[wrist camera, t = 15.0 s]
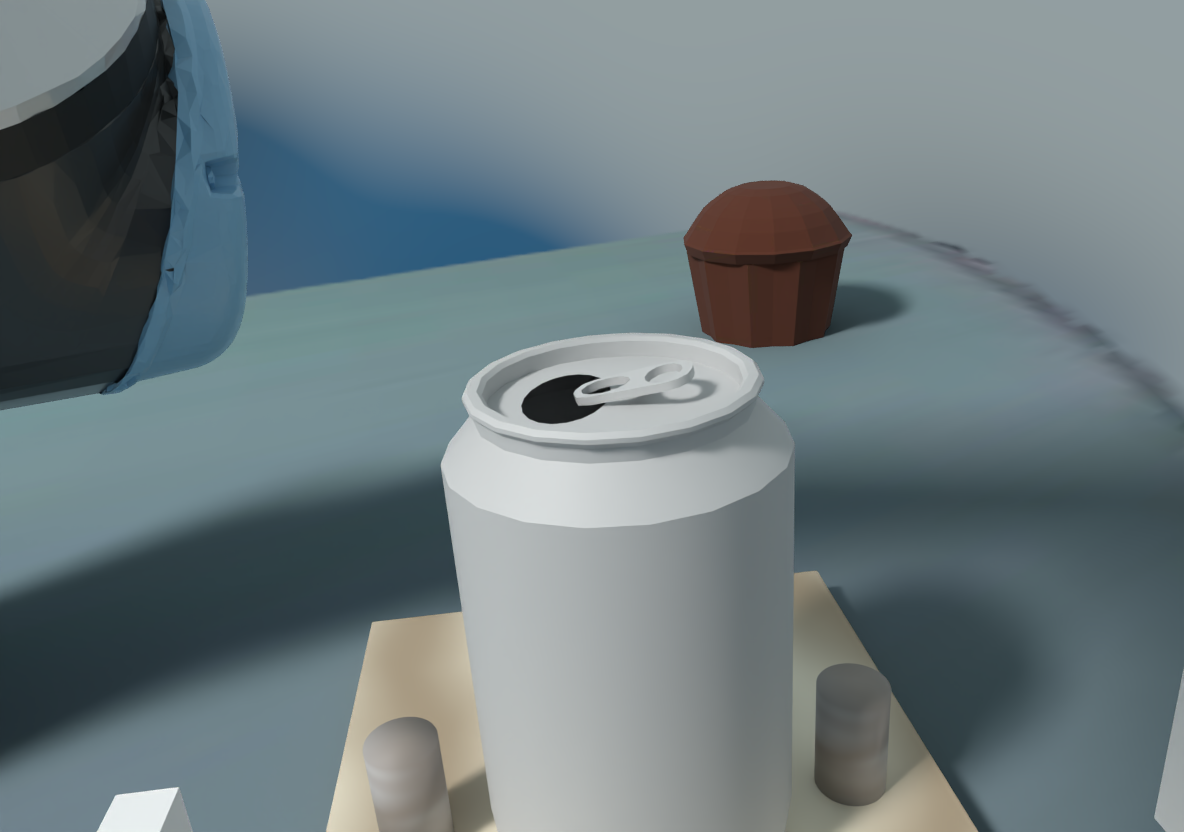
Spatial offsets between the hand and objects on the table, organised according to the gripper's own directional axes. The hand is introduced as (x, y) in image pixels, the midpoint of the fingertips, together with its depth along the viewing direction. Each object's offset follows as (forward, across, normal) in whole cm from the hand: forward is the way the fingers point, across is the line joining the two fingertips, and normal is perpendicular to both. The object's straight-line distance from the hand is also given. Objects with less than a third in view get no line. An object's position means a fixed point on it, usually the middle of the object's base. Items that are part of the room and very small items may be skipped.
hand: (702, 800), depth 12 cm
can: (+9, 0, -9) cm, 13 cm away
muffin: (+52, +15, -10) cm, 56 cm away
